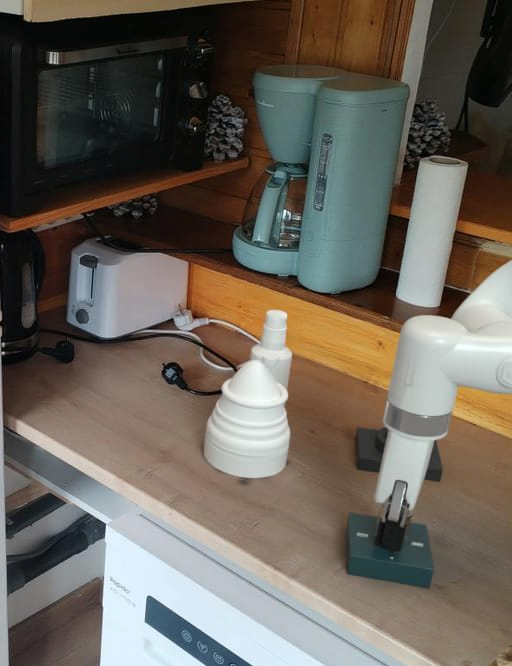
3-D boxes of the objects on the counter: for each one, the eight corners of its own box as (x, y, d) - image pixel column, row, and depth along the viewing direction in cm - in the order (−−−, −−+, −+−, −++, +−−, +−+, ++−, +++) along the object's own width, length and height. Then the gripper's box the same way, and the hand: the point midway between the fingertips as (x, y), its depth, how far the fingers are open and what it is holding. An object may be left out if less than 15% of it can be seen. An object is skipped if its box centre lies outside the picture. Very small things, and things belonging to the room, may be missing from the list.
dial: (376, 527, 121) (383, 493, 119) (407, 535, 120) (415, 501, 117) (371, 543, 118) (378, 509, 116) (404, 551, 116) (411, 517, 114)
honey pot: (295, 448, 146) (311, 346, 138) (274, 486, 136) (290, 379, 128) (217, 428, 151) (229, 329, 143) (192, 464, 141) (203, 360, 133)
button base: (433, 449, 146) (438, 428, 144) (439, 482, 137) (445, 459, 135) (355, 438, 149) (359, 417, 147) (356, 469, 140) (361, 447, 138)
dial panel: (422, 542, 123) (426, 523, 122) (429, 588, 115) (434, 568, 113) (345, 530, 126) (349, 511, 124) (347, 574, 117) (351, 554, 116)
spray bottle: (257, 396, 162) (270, 302, 154) (291, 409, 158) (305, 313, 150) (236, 408, 158) (247, 313, 150) (270, 422, 153) (283, 324, 145)
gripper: (393, 381, 119) (370, 498, 127) (374, 438, 106) (349, 564, 114) (455, 394, 116) (427, 512, 124) (443, 454, 103) (412, 582, 110)
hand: (390, 536), depth 119 cm, fingers closed on dial, 4 cm apart
